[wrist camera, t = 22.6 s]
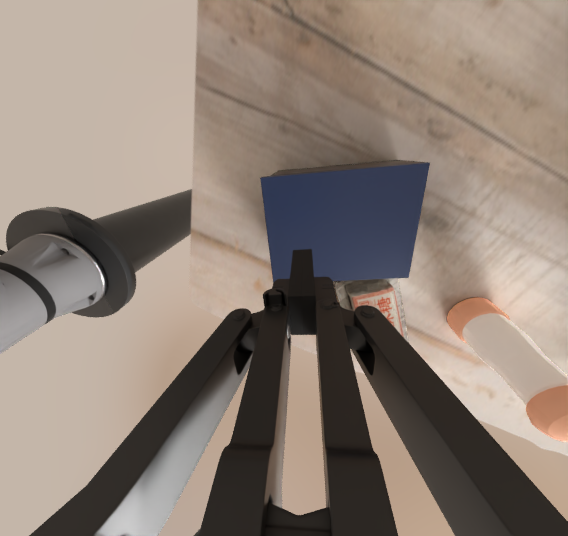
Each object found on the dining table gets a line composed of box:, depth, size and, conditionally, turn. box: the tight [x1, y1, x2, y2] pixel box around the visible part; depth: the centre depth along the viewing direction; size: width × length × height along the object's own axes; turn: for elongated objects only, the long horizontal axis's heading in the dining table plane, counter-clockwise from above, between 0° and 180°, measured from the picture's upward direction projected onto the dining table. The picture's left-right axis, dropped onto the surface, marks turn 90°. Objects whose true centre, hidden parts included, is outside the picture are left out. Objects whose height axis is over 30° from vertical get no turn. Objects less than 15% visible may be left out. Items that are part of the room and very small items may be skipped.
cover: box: [260, 162, 430, 283], centre depth 25 cm, size 16×13×1 cm
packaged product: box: [335, 278, 409, 343], centre depth 38 cm, size 18×5×10 cm
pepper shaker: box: [447, 298, 568, 442], centre depth 30 cm, size 7×7×19 cm
